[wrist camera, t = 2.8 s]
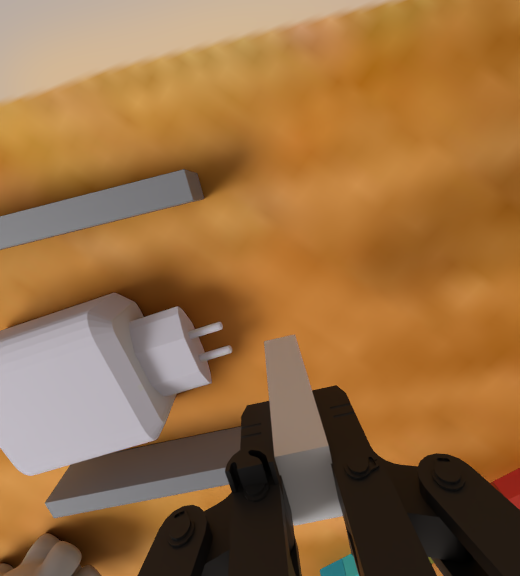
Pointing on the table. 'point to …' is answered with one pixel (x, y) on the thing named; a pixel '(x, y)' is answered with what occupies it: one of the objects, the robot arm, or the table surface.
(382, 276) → the table surface
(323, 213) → the table surface
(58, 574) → the chubby cartoon animal
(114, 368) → the charger
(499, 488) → the chart
